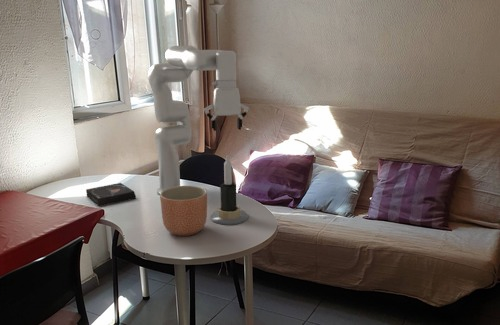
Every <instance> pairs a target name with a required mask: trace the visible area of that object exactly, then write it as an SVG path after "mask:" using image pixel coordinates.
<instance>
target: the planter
mask: <svg viewBox="0 0 500 325" xmlns="http://www.w3.org/2000/svg"><path fill="white" fill-rule="evenodd" d="M207 191H208V190H207V189H205V188H203V187H201V186H197V185H180V186H176V187H171V188H168V189H165V190H164V191H162V192H161V193H160V196H159V198H160V207H161V208H160V209H161V219H162V224H163V226H164V227H165V229H166V230H167V231H168V232H169V233H171V234H173V235H174V236H177V237H188V236H193V235H195V234H198V233H199V232H201V230H203V229H204V228H205V225H206V223H207V218H208V192H207Z"/></svg>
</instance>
